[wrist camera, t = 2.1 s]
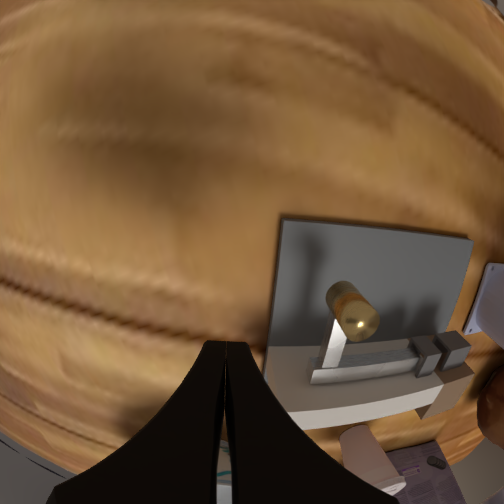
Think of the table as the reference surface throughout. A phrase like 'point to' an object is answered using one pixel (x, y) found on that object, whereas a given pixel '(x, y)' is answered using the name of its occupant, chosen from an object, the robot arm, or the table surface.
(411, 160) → the table surface
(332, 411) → the door
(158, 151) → the table surface
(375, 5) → the table surface
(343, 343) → the bolt
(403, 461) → the cake pan box
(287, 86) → the table surface
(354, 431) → the smoothie
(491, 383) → the butternut squash
